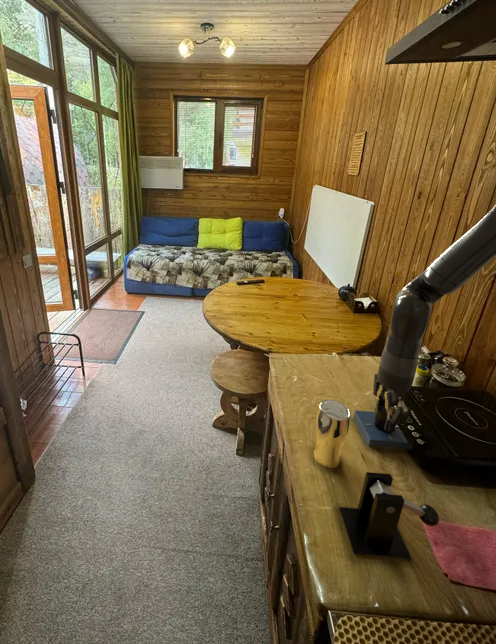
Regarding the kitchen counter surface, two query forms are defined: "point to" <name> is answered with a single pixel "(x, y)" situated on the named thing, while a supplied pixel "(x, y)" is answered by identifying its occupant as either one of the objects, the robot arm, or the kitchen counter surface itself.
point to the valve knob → (381, 417)
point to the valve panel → (378, 432)
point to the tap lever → (410, 505)
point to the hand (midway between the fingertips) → (383, 422)
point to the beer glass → (331, 431)
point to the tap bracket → (375, 521)
